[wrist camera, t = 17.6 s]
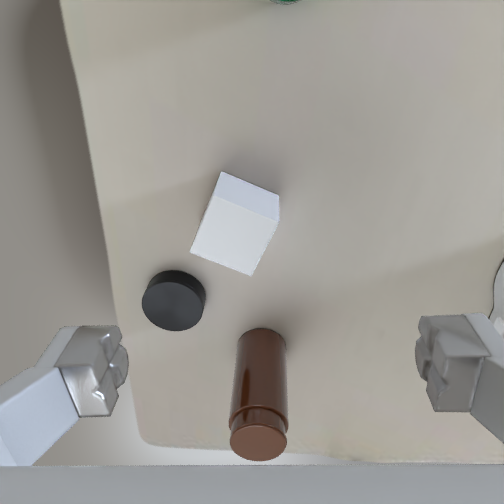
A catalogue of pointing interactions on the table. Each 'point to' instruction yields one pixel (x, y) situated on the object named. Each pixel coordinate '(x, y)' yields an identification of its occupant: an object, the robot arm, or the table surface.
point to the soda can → (284, 1)
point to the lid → (174, 301)
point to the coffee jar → (259, 396)
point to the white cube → (237, 224)
